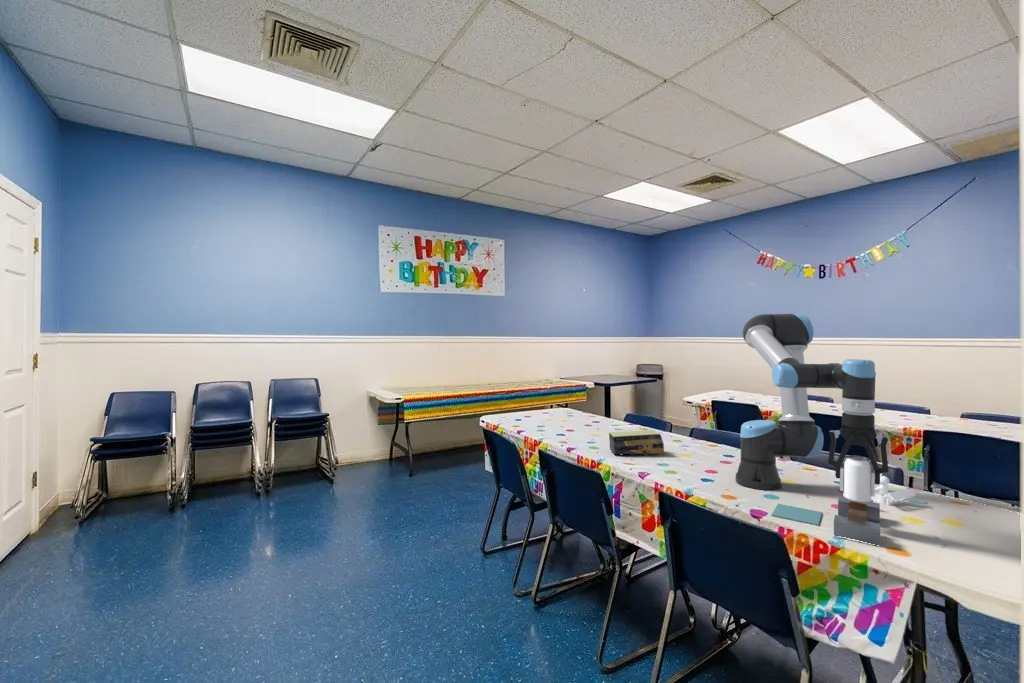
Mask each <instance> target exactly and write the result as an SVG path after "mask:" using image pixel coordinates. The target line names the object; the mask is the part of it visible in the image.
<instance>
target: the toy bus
mask: <svg viewBox="0 0 1024 683" xmlns="http://www.w3.org/2000/svg"><path fill="white" fill-rule="evenodd" d="M608 437H609V438H608V439H609V450H610V451H611V453H613V455H615V454H630V455H643V454H644V455H647V456H648V455H649V454H663V453H665V446H664V445H665V444H664V440H663V436H662V435H661V434H660V433H659V432H657V431H656V430H653V429H649V430H647V429H646V430H644V429H643V430H629V431H628V430H627V431H626V430H625V431H610V432H609V433H608ZM644 455H643V456H644Z"/></svg>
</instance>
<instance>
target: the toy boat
mask: <svg viewBox="0 0 1024 683" xmlns="http://www.w3.org/2000/svg"><path fill="white" fill-rule="evenodd" d="M889 484H890V478H888V477H887V476H885V475H883V473H881V474H880V484H879V485H878V486H877V487H875V497H874V496H871V500H873V502H875V501H876V502H875V503H880V504H881V505H886V506H893V505H897V504H900V503H901V504H902V502H904V501H906V500H909V499H911V498H913V497H914V498H915V497H916V494H915V493H914V492H913V490H912V489H911V488H907V489H902V490H897V491H891V492H890V491H889V486H888V485H889ZM892 504H893V505H892Z"/></svg>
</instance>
